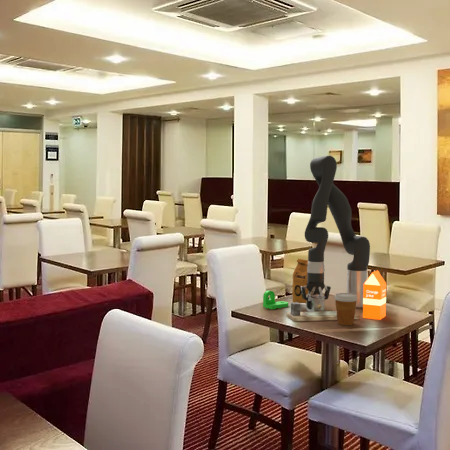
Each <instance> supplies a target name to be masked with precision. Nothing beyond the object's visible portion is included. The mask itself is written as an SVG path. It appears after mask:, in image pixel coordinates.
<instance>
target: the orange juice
mask: <svg viewBox="0 0 450 450" xmlns="http://www.w3.org/2000/svg"><path fill="white" fill-rule="evenodd" d="M386 311H387V282H386V281H385V279H384V278H383V276H382V275H381V273H380V271H379V270H375V271H372V272H371V274H370V275H369V277H367V280H366V282H365V283H364V285H363V307H362V318H363V319H371V320H380V321H381V320H382V319H384V318H385V317H386V316H387V315H386V313H387V312H386Z"/></svg>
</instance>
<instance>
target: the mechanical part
mask: <svg viewBox="0 0 450 450" xmlns="http://www.w3.org/2000/svg"><path fill="white" fill-rule="evenodd" d="M262 307H263V308H264V307H265V308H264V309H268V308H269V309H268V310H271V309H272V310H276V308H278V309H283V308H282V307H284V308H288V307H289V302H288V301H284V300H281V301H280V300H279V301H276V294H275V292H274V291H272V290H269V289H268V290H266V291H264V293H263V296H262Z"/></svg>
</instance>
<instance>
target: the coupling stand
mask: <svg viewBox="0 0 450 450" xmlns="http://www.w3.org/2000/svg"><path fill="white" fill-rule="evenodd" d="M285 317H286V318H288V319H290V320H292V322H313V321H338V320H337V311H336V310H329V311H328V310H326V311H325V310H324V311H320V312H309V311H307V304H305V303H298V302H293V301H292V302H290V312H289V311H287V312H286V313H285ZM354 320H360V315H358V314H356V313H355V316H354Z"/></svg>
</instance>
